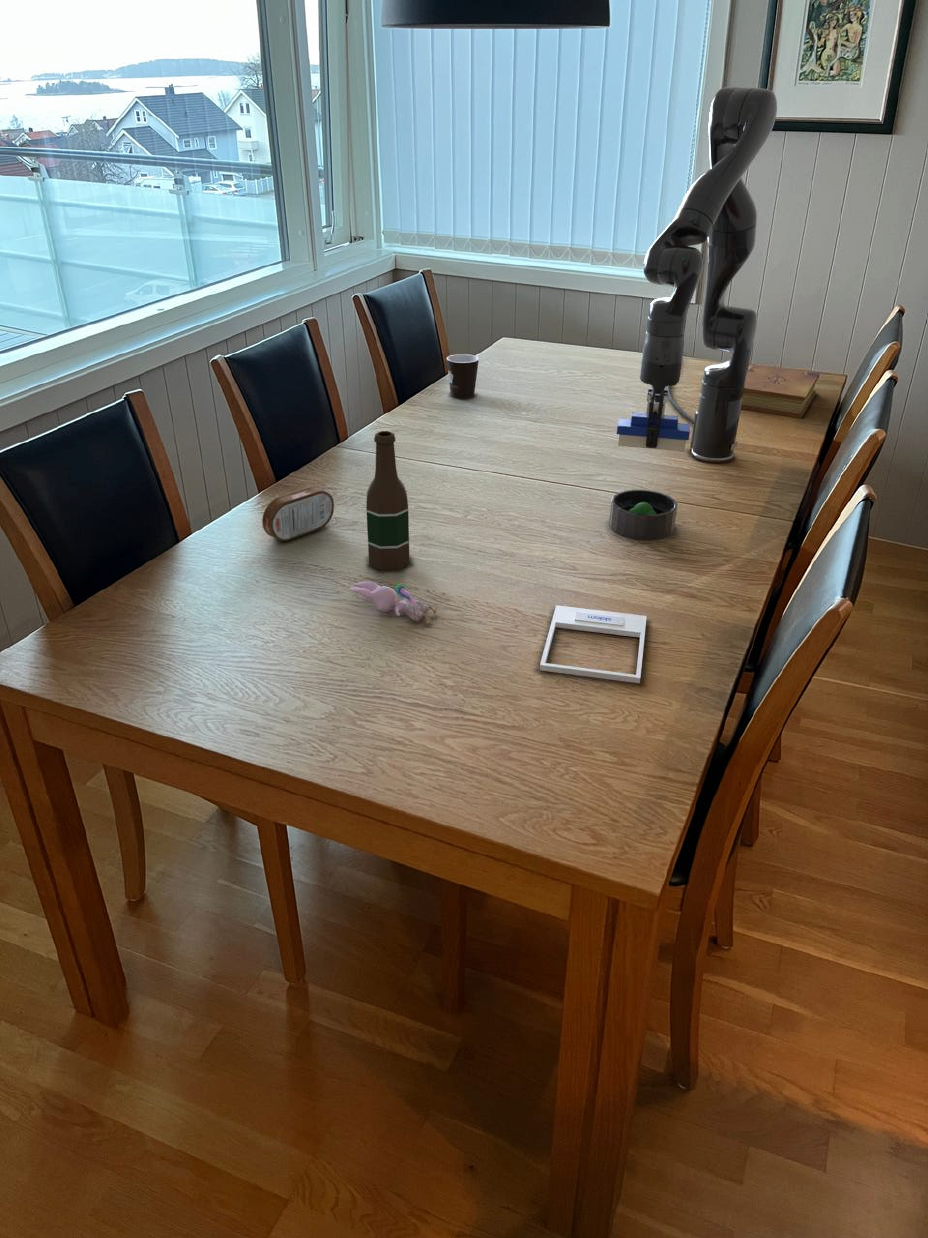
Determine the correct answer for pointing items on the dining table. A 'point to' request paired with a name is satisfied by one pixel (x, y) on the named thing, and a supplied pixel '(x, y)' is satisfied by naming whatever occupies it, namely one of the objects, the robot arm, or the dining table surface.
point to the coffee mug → (462, 375)
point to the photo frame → (601, 624)
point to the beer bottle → (387, 510)
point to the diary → (778, 390)
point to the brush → (668, 438)
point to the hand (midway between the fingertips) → (651, 442)
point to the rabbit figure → (393, 600)
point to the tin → (298, 513)
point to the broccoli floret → (643, 509)
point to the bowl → (643, 515)
